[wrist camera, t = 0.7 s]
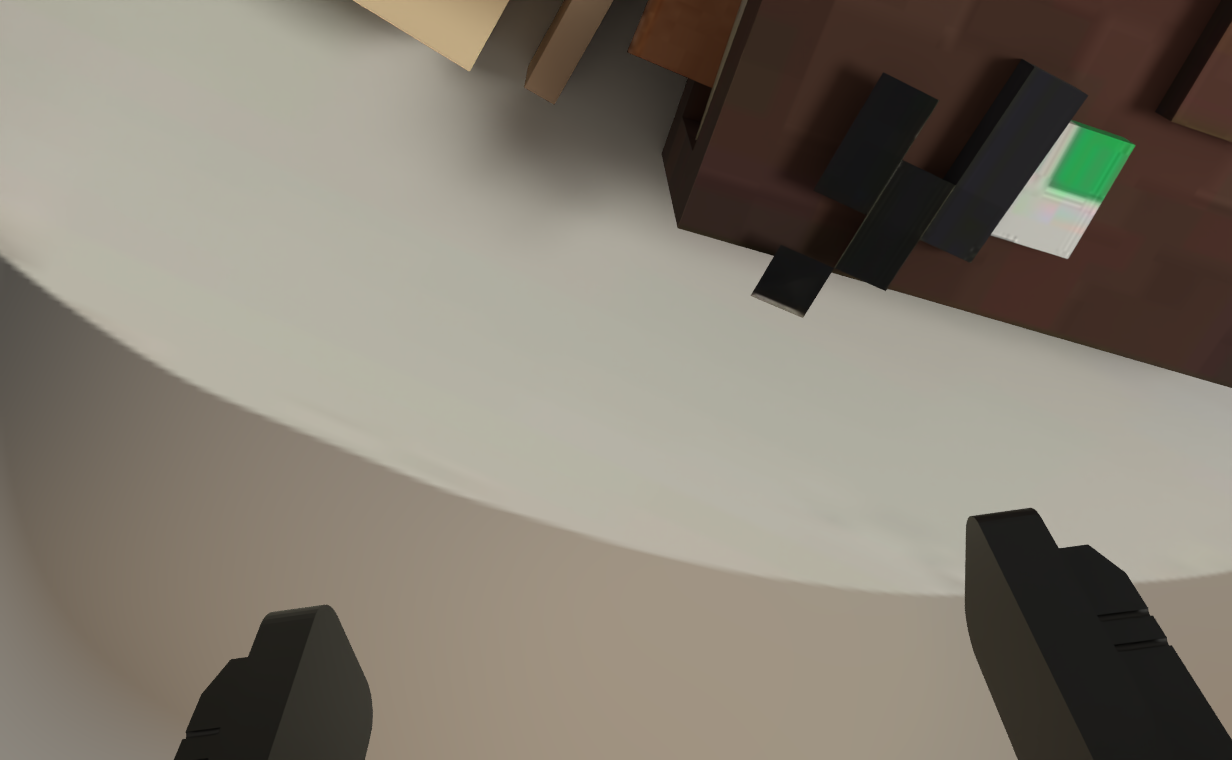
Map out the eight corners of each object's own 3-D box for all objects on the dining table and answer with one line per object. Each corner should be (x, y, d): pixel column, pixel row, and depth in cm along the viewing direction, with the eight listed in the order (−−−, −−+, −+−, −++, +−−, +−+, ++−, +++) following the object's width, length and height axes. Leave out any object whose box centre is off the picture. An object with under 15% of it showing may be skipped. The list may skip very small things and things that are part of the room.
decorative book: (1469, 503, 32) (582, 256, 27) (1320, 382, 39) (581, 163, 33) (2068, -133, 23) (894, -707, 18) (1741, -153, 29) (810, -577, 24)
